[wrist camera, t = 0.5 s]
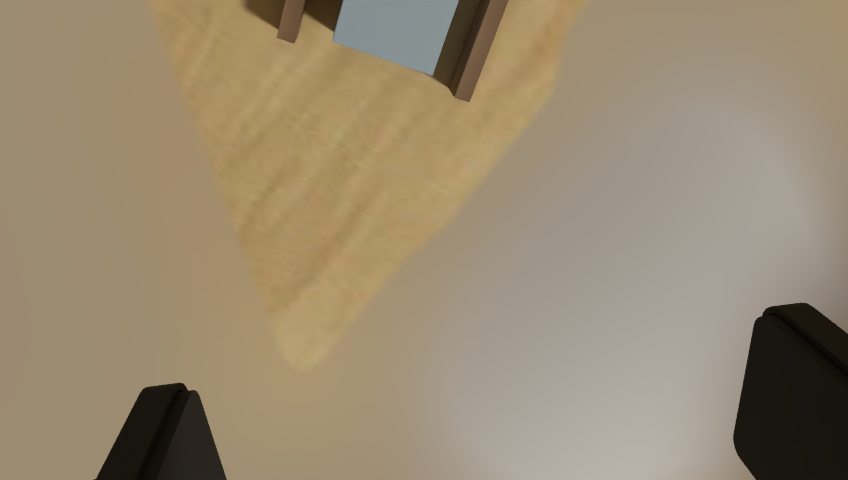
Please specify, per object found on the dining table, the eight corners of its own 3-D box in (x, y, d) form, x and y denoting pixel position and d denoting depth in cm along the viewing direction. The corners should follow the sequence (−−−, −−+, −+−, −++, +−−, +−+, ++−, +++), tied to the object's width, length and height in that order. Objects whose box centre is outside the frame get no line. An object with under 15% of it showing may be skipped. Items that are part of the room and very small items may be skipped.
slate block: (333, 31, 37) (332, 41, 33) (362, -72, 34) (363, -73, 31) (424, 62, 38) (432, 75, 34) (457, -35, 36) (469, -32, 32)
